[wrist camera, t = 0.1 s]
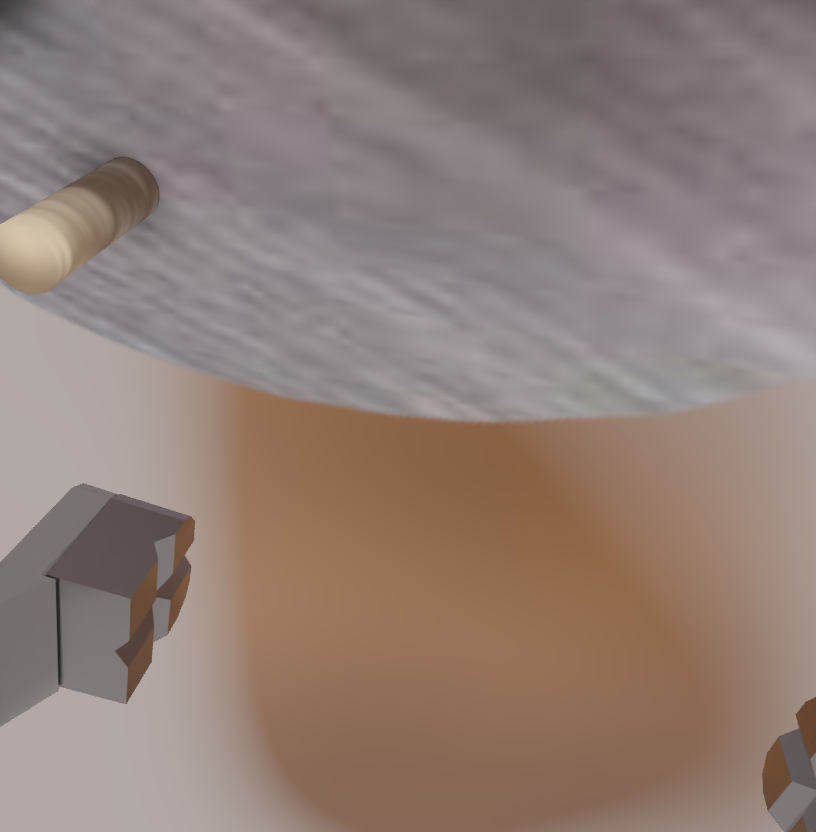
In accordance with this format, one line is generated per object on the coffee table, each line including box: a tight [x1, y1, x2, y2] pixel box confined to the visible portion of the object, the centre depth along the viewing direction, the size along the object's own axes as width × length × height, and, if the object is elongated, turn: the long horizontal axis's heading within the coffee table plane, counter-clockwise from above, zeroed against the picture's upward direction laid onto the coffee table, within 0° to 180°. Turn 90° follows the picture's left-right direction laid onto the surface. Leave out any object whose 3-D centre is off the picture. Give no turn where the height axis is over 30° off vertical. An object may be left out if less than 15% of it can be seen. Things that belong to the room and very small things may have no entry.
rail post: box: [0, 157, 159, 294], centre depth 45 cm, size 4×4×12 cm
